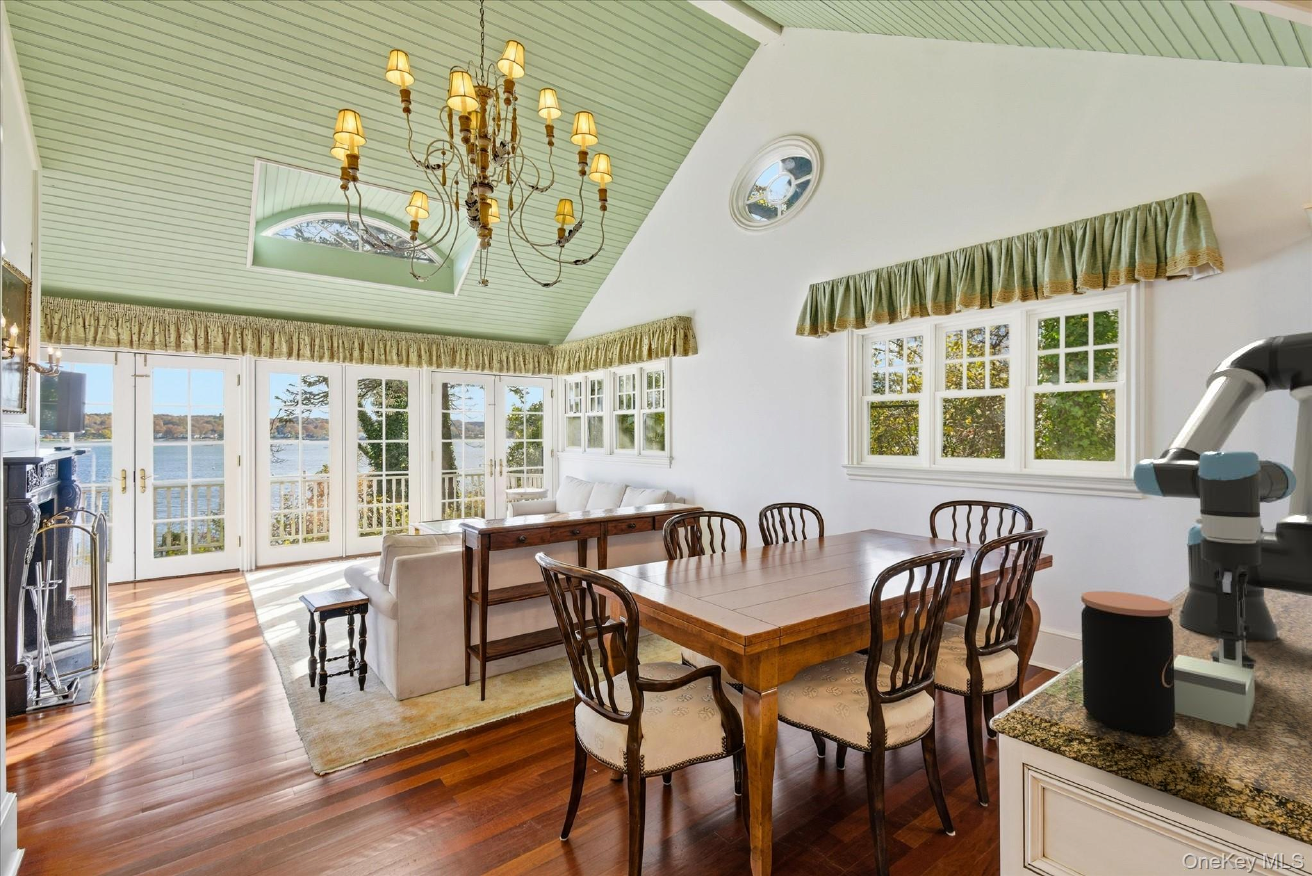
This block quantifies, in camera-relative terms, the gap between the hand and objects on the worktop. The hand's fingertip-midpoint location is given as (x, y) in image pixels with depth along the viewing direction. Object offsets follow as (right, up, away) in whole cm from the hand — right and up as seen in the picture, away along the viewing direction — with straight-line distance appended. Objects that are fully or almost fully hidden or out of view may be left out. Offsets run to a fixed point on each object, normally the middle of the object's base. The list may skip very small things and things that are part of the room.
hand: (1232, 671), depth 102 cm
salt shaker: (0, -1, 0) cm, 1 cm away
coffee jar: (-31, -1, -15) cm, 34 cm away
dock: (-14, -1, -10) cm, 17 cm away
